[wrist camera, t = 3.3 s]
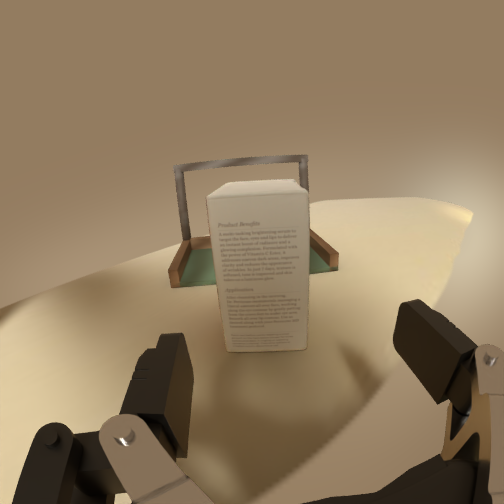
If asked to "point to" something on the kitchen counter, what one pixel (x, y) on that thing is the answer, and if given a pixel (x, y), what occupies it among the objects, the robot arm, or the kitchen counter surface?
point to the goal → (199, 249)
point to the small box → (261, 263)
